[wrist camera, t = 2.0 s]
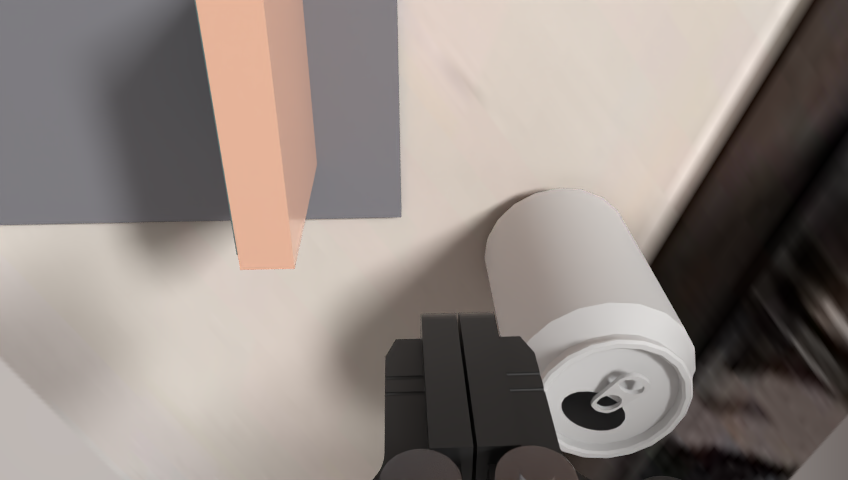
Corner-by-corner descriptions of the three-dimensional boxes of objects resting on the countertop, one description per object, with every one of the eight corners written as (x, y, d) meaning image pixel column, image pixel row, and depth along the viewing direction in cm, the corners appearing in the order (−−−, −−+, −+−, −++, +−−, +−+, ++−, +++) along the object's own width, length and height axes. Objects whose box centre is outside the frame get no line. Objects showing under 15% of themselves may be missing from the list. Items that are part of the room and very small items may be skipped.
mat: (394, -145, 27) (393, -143, 26) (401, 213, 36) (401, 225, 35) (-131, -143, 27) (-152, -142, 26) (2, 220, 35) (-10, 233, 34)
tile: (297, -60, 28) (262, -12, 21) (317, 164, 34) (294, 268, 26) (243, -59, 28) (188, -12, 21) (271, 165, 34) (236, 269, 26)
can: (455, 264, 37) (478, 433, 27) (539, 153, 34) (601, 299, 24) (565, 320, 40) (624, 495, 29) (653, 221, 36) (754, 380, 26)
